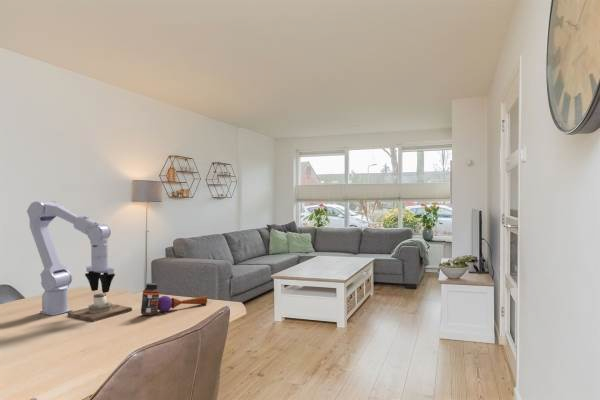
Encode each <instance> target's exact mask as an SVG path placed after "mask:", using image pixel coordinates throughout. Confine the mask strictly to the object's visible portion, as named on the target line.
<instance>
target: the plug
mask: <svg viewBox="0 0 600 400" xmlns="http://www.w3.org/2000/svg"><path fill="white" fill-rule="evenodd" d="M106 302H107V292H106V293H103V292H102V293H95V294H93V304H94V307H102V306H107V304H106Z"/></svg>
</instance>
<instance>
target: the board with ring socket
mask: <svg viewBox="0 0 600 400" xmlns="http://www.w3.org/2000/svg"><path fill="white" fill-rule="evenodd" d="M106 304H107V306H102V307H94V303H91V304H90V305H88V307H86V308H81V309H78V310H73V311H69V312H67V316H68V317H71V318H76V319H80V320H84V321H89V322H97V321H100V320H101V321H102V320H104V319H107V318H108V319H109V318H110V317H114V316H118V315H121V314H125V313H128V312H131V311H133V307H130V306H125V305H120V304H116V303H115V304H114V303H112V302H110V301H108V302H107V301H106Z"/></svg>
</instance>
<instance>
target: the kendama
mask: <svg viewBox="0 0 600 400" xmlns="http://www.w3.org/2000/svg"><path fill="white" fill-rule="evenodd" d="M207 303H208V297H207V295H204V296H200V297H199V296H198V297H195V298H194V297H193V298H188V299H183V300H180V299H178V298H175V297H170V296H168V295H162V296H159V302H158V311H159V312H163V313H165V312H168V311H169V310H171V309H175V308H176V307H178V306H181V305H183V304H184V305H185V304H186V305H207Z"/></svg>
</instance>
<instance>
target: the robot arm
mask: <svg viewBox="0 0 600 400" xmlns="http://www.w3.org/2000/svg"><path fill="white" fill-rule="evenodd" d="M26 213H27V215H28V218H29V229H30V232H31V234H32V237H33V240H34V243H35V246H36V249H37V252H38V255H39V257H40V260H41V263H42V266H43V267H44V268H43V270H42V271H41V273H40V279H41V282H40V285H41V287H42V288H43V290H44V291H43V293H42V295H41V311H40V310H39V314H43V315H49V316H57V315H60V314H61V315H62V314H65V313H69V312H73V311H74V309H72V308H69V291H68V290H69V288H70V287H69V286H70V285H71V283H72V281H73V275H72V273H71V272H70V271H69V270H68V268H67V266H66V265H64V264H62V263H61V262H60V260H59V257H58V253H57V251H56V247H55V245H54V242H53V240H52V239H53V238H52V237H51V234H50V231H49V227H48V226H49V225H50V223H52V221H54V219H55V218H56V217H58V218H60V219H61V220H64V221H66V222H69V223H70V224H73V228H74V229H75V230H77V231H79V232H81V233H83V234H84V235H87V238H88V239H89V241H90V242H89V243H90V249H91V250H90V251H91V253H90V254H91V255H90V256H91V261H90V263H91V265H89V266H85V267H86V271H85V272H87V273H84V276H85V277H86V280H87V281H88V284H89V287H90V290H91V292H95V291H98V290H99V282H100V284H101V290H102V293H106V294H107V293H109V292H110V288H111V285H112V282H113V279H114V277H115V276H116V273H115V271H114V270H115V268H112V267H109V254H108V253H109V252H108V251H109V250H108V249H109V248H108V245H109V244H108V243H109V242H108V241H109V238H110V237H111V234H112V233H111V228H110V227H109V225H108V226H107V224H100V222H99V221H95V220H93V219H91V218H90V216H89V215H80V216H79V215H77V214H75V213H74V212H72V211H71V210H69V209H68V208H66V207H64V206H63V204H60V203H58V202H56V201H53V200H52V201H36V200H35V201H33V202H31V203H30V205H29V206H28V207H27V209H26Z"/></svg>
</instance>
